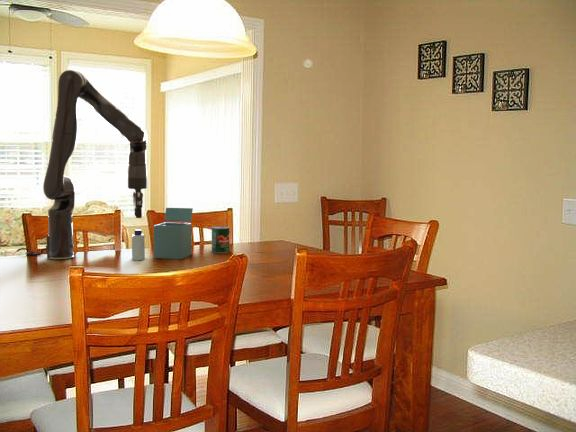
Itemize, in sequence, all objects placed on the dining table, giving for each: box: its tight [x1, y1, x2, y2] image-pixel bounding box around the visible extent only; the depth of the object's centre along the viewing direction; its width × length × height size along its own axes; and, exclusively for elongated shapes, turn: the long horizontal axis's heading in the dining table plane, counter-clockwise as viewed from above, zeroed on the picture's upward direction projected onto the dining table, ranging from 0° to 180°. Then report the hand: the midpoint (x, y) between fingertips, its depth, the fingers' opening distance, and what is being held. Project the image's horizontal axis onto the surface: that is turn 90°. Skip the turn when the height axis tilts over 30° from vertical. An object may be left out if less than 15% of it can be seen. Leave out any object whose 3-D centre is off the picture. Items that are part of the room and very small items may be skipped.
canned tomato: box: [211, 225, 231, 254], centre depth 266 cm, size 8×8×11 cm
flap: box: [164, 207, 194, 223], centre depth 258 cm, size 12×6×1 cm
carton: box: [153, 221, 192, 260], centre depth 252 cm, size 12×12×14 cm
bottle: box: [131, 229, 146, 261], centre depth 244 cm, size 5×5×12 cm
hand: (138, 217), depth 244 cm, fingers open, 8 cm apart
